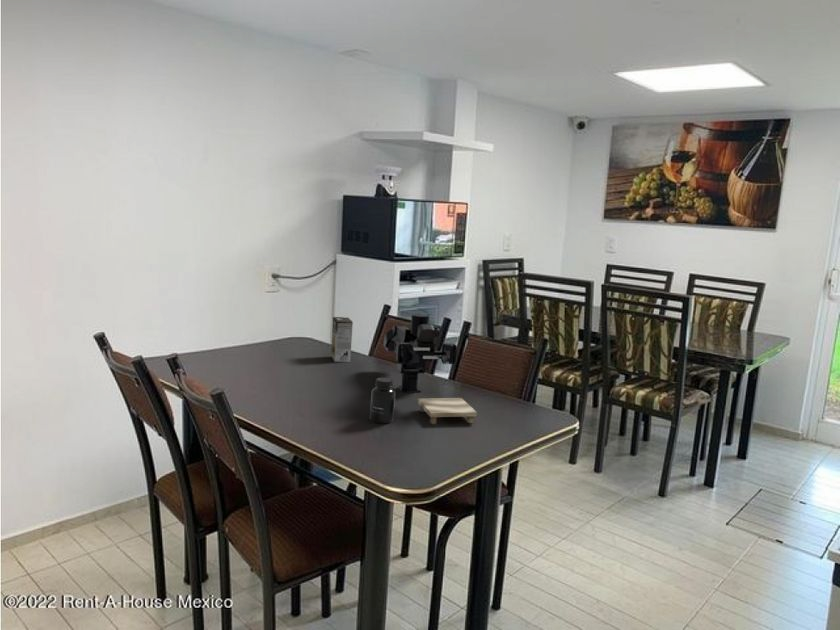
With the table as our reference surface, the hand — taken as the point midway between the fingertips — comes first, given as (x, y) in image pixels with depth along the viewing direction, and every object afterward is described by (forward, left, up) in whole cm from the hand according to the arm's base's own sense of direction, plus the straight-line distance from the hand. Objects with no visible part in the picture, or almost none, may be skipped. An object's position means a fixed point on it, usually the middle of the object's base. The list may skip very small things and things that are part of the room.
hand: (434, 360), depth 189 cm
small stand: (+3, +4, -17) cm, 17 cm away
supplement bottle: (+5, -16, -17) cm, 24 cm away
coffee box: (-68, -17, -17) cm, 72 cm away
